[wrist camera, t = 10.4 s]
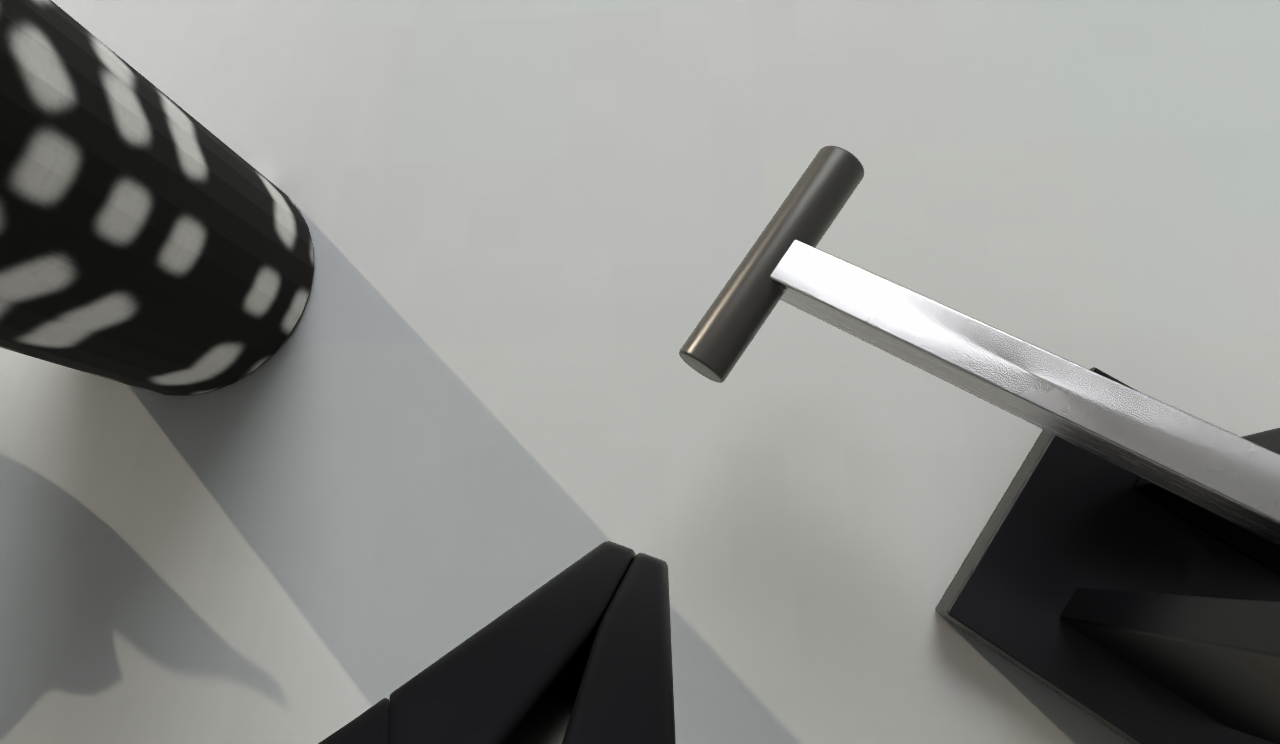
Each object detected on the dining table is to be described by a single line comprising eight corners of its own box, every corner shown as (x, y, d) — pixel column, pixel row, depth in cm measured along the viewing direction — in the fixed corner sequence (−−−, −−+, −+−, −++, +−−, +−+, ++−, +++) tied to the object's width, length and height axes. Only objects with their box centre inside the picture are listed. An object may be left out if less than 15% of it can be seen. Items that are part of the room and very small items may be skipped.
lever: (691, 374, 18) (664, 334, 16) (823, 184, 19) (815, 120, 16) (1482, 836, 11) (1625, 876, 9) (1632, 505, 12) (1796, 469, 10)
